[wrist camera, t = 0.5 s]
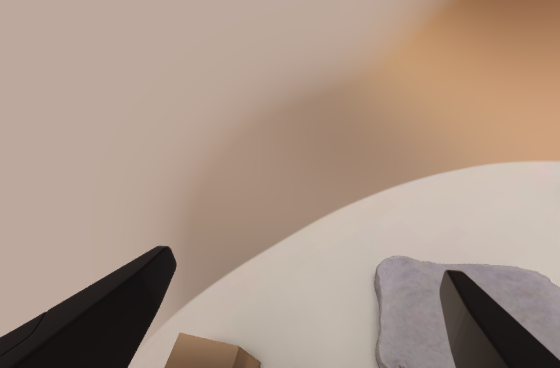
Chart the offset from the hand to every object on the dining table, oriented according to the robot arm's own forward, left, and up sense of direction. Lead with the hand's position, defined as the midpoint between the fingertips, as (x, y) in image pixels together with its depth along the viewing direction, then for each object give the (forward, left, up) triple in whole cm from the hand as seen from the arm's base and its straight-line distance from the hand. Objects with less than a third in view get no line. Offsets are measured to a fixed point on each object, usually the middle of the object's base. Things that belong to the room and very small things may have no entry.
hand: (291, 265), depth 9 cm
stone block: (+3, -8, -17) cm, 19 cm away
